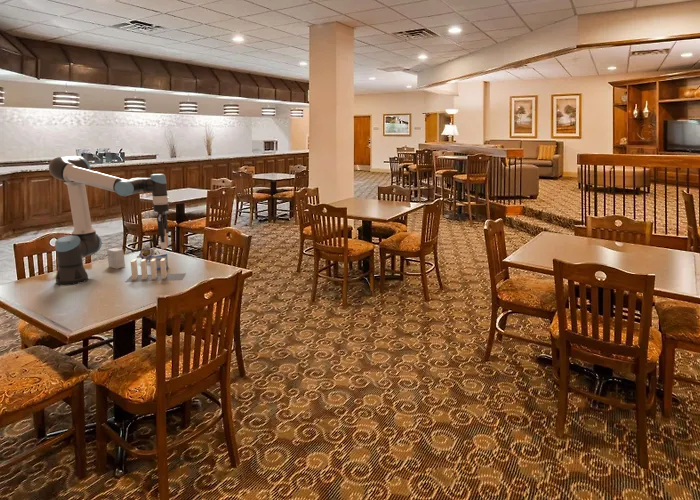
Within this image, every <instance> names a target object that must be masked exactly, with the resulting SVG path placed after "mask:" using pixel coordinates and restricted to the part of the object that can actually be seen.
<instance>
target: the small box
mask: <svg viewBox="0 0 700 500" xmlns="http://www.w3.org/2000/svg"><path fill="white" fill-rule="evenodd" d="M106 253H107V254H106V255H107V262H108V263H107V264H108V267H109V268H113V269H116V270H117V269H121V268H125V267H126V262H125V254H124V253H125V252H124V249H123V248H116V247H113V248H109V249H107V250H106Z"/></svg>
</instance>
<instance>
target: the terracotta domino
mask: <svg viewBox="0 0 700 500" xmlns="http://www.w3.org/2000/svg"><path fill="white" fill-rule="evenodd" d="M167 234H168V233H167ZM167 234H166V229H165V236H166V246H167V248H168V247H169V246H168V245H167ZM167 248H161V249H162V250H167Z"/></svg>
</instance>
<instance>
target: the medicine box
mask: <svg viewBox="0 0 700 500" xmlns="http://www.w3.org/2000/svg"><path fill="white" fill-rule="evenodd" d="M156 254H157V255H152V256H151V260H152V259H156V267H157V271H161V266H160V260H161V259H162V258H165V259H166V269H168V268H169V259H168V253H165V252H164V253H163V252H162V253H161V252H160V254H159V253H156Z"/></svg>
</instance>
